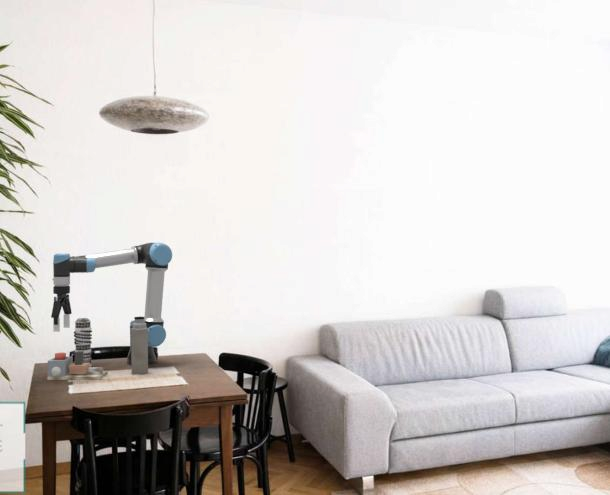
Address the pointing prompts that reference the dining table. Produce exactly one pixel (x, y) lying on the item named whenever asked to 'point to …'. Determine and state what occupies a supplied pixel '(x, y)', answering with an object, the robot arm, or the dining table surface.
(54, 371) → the end cabinet
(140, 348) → the thermos bottle
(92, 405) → the dining table surface
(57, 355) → the button
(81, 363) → the carriage
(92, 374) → the rail base
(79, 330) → the decorative candle
